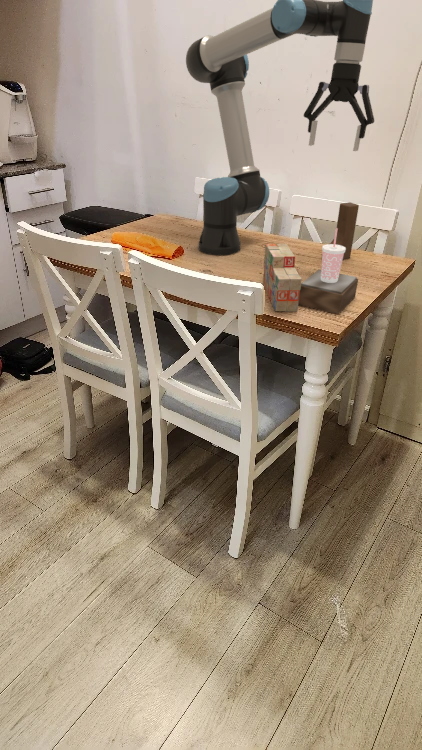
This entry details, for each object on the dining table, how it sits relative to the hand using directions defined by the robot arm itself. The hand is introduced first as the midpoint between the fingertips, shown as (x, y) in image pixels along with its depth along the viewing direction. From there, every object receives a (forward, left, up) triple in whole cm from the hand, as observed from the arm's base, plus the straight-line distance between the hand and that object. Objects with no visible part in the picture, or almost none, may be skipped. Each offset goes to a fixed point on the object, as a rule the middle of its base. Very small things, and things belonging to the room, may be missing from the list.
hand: (333, 148), depth 143 cm
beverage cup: (+13, -28, -30) cm, 43 cm away
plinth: (+13, -28, -35) cm, 47 cm away
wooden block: (+3, +9, -36) cm, 37 cm away
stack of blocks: (+1, -33, -36) cm, 48 cm away
